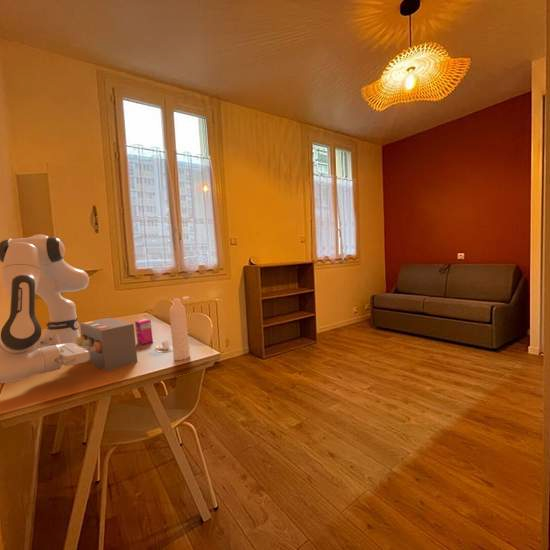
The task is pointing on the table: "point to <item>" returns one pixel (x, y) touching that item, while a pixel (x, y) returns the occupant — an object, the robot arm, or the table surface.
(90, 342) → the sage button
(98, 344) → the terracotta button
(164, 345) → the teacup and saucer
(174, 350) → the water bottle
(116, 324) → the box
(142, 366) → the table surface
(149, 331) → the supplement box
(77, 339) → the ochre button
